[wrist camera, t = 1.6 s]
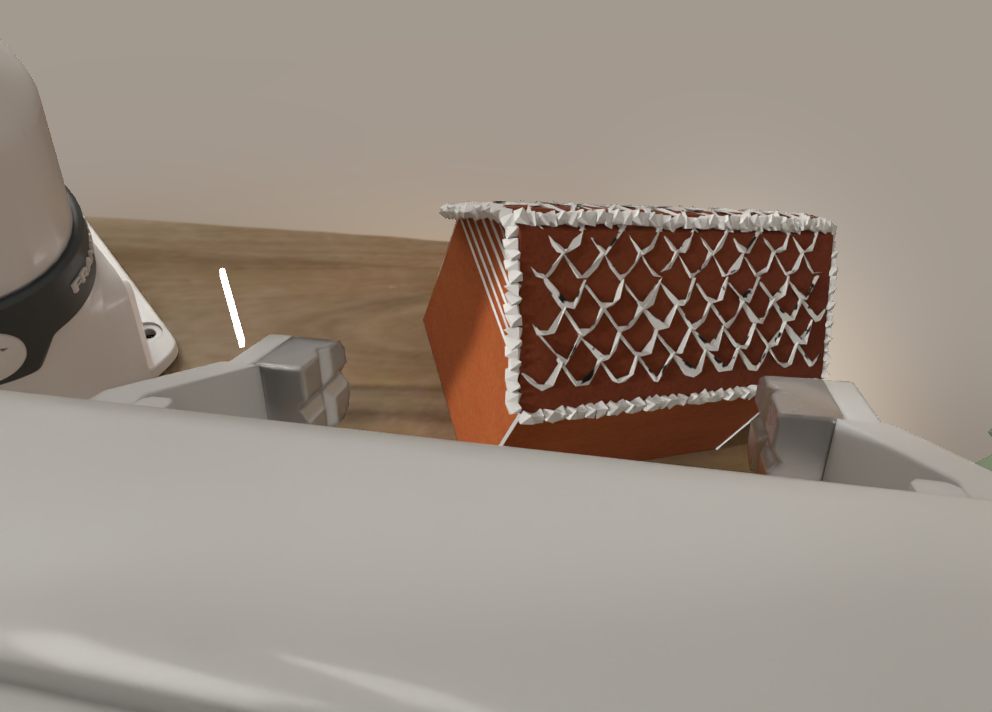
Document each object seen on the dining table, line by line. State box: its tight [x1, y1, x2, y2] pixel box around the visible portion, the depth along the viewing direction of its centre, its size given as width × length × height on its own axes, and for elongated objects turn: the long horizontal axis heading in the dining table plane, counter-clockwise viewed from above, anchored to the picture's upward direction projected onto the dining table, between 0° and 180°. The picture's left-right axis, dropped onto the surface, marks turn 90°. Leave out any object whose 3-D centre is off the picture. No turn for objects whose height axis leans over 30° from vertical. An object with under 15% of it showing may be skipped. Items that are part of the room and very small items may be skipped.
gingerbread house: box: [423, 201, 838, 461], centre depth 46 cm, size 18×26×20 cm
